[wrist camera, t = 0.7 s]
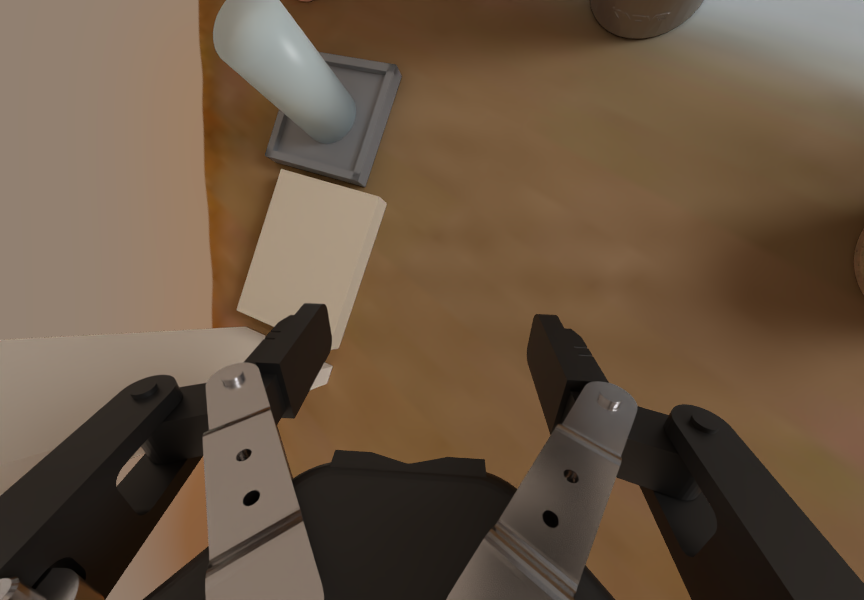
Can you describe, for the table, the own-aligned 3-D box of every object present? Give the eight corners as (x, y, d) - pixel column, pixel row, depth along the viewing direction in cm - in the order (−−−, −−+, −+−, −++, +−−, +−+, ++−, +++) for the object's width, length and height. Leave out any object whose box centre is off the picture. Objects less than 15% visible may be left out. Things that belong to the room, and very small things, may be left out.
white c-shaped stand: (293, 176, 36) (-1128, -705, 5) (387, 203, 33) (-1730, -1631, 2) (240, 342, 37) (-1237, 508, 6) (326, 383, 34) (-1761, 1183, 3)
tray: (307, 59, 36) (298, 48, 34) (401, 76, 33) (396, 64, 31) (275, 162, 36) (264, 155, 35) (365, 187, 34) (358, 181, 32)
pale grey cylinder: (315, 83, 34) (227, -19, 24) (363, 93, 33) (291, -13, 22) (298, 137, 35) (203, 59, 24) (345, 149, 33) (265, 71, 22)
